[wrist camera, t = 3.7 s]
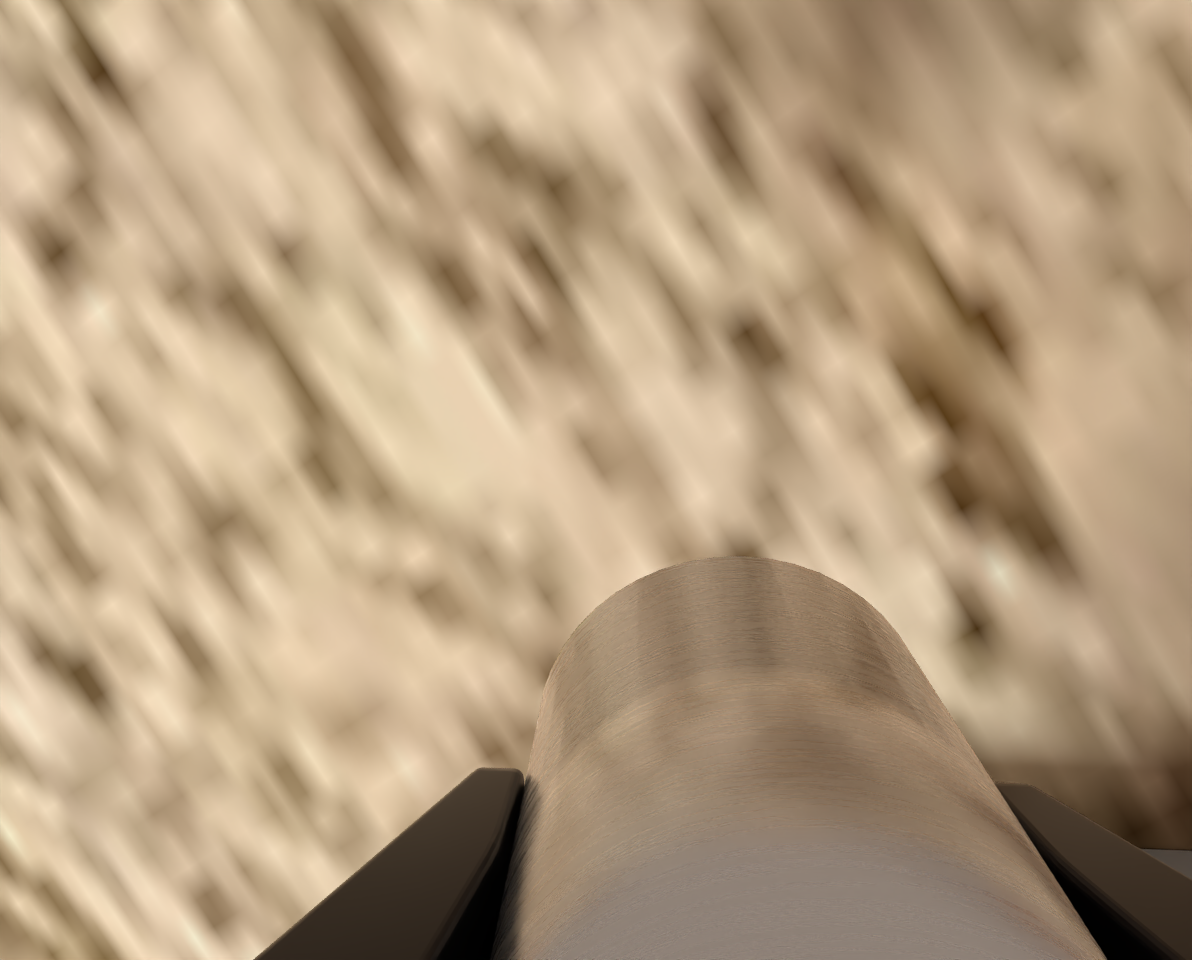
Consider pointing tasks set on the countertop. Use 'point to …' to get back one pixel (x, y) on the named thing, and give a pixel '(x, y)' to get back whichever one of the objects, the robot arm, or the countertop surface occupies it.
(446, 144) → the countertop surface
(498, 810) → the robot arm
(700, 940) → the grey peg
